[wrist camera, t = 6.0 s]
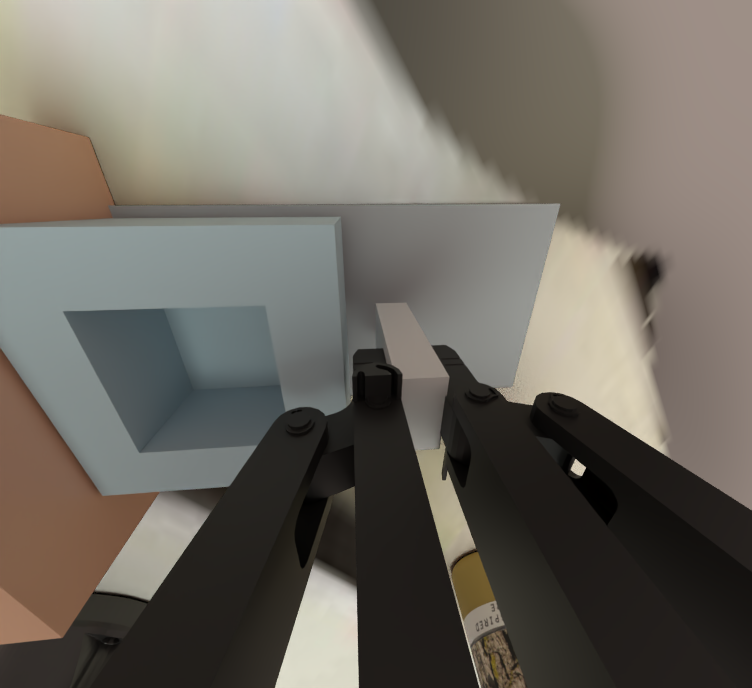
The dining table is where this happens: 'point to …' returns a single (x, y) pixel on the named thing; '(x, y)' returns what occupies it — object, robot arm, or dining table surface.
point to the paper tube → (485, 627)
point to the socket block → (174, 338)
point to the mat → (428, 270)
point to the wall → (36, 431)
